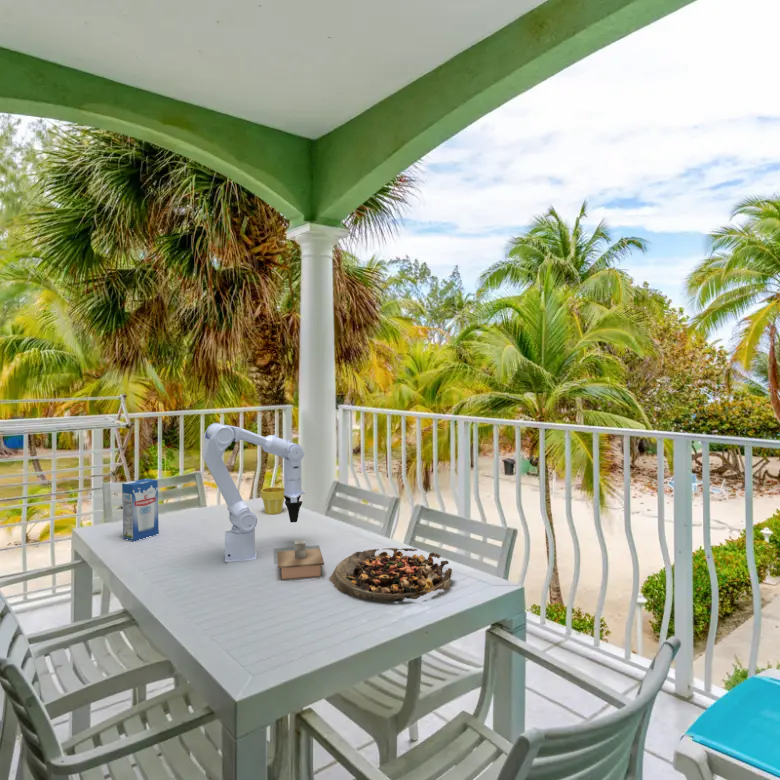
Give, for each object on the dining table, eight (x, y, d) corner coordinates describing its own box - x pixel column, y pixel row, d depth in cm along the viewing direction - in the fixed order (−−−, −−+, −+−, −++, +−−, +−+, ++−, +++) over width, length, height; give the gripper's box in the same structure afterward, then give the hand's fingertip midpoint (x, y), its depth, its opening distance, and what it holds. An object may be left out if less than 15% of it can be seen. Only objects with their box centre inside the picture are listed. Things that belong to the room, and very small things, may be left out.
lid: (278, 568, 157) (277, 550, 157) (277, 553, 170) (277, 537, 169) (324, 564, 160) (324, 547, 160) (320, 550, 172) (319, 534, 172)
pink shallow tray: (281, 580, 158) (281, 566, 158) (281, 567, 169) (280, 554, 169) (320, 577, 161) (320, 563, 161) (317, 564, 171) (317, 551, 171)
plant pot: (290, 513, 232) (289, 490, 232) (266, 516, 227) (265, 493, 226) (280, 508, 241) (280, 485, 240) (257, 511, 235) (257, 488, 235)
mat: (274, 565, 171) (274, 563, 171) (273, 549, 185) (273, 548, 185) (323, 561, 174) (323, 560, 174) (318, 546, 188) (318, 545, 188)
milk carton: (133, 541, 194) (132, 485, 193) (123, 539, 198) (121, 483, 197) (158, 534, 203) (157, 480, 202) (148, 532, 206) (147, 478, 205)
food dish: (469, 576, 165) (470, 550, 164) (417, 622, 136) (418, 591, 136) (369, 552, 183) (370, 529, 182) (305, 589, 154) (305, 561, 154)
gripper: (306, 482, 180) (306, 524, 180) (303, 474, 194) (303, 512, 195) (284, 483, 178) (284, 525, 179) (282, 475, 193) (283, 513, 193)
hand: (293, 519), depth 187 cm, fingers open, 7 cm apart
